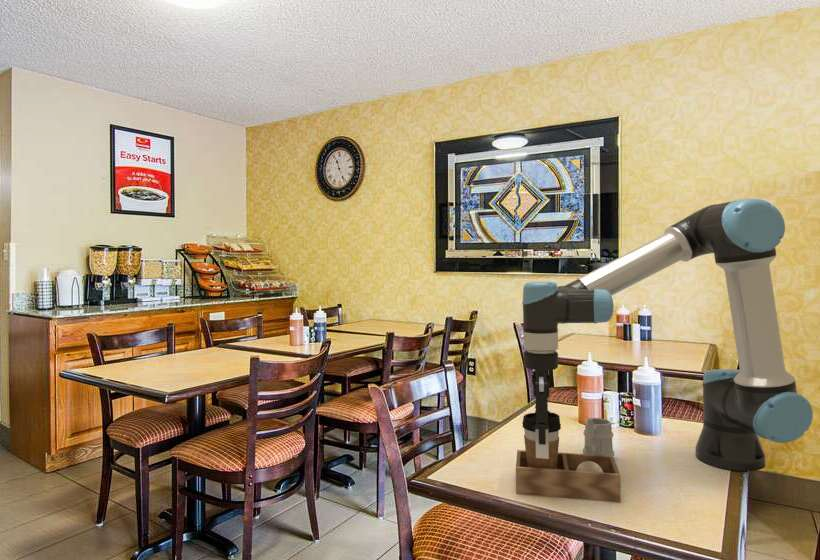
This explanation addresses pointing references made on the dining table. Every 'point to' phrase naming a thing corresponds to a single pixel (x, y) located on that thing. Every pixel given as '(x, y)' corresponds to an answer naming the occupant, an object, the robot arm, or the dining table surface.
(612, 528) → the dining table surface
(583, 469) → the beige ball
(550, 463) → the coffee cup
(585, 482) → the caddy
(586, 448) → the mug
